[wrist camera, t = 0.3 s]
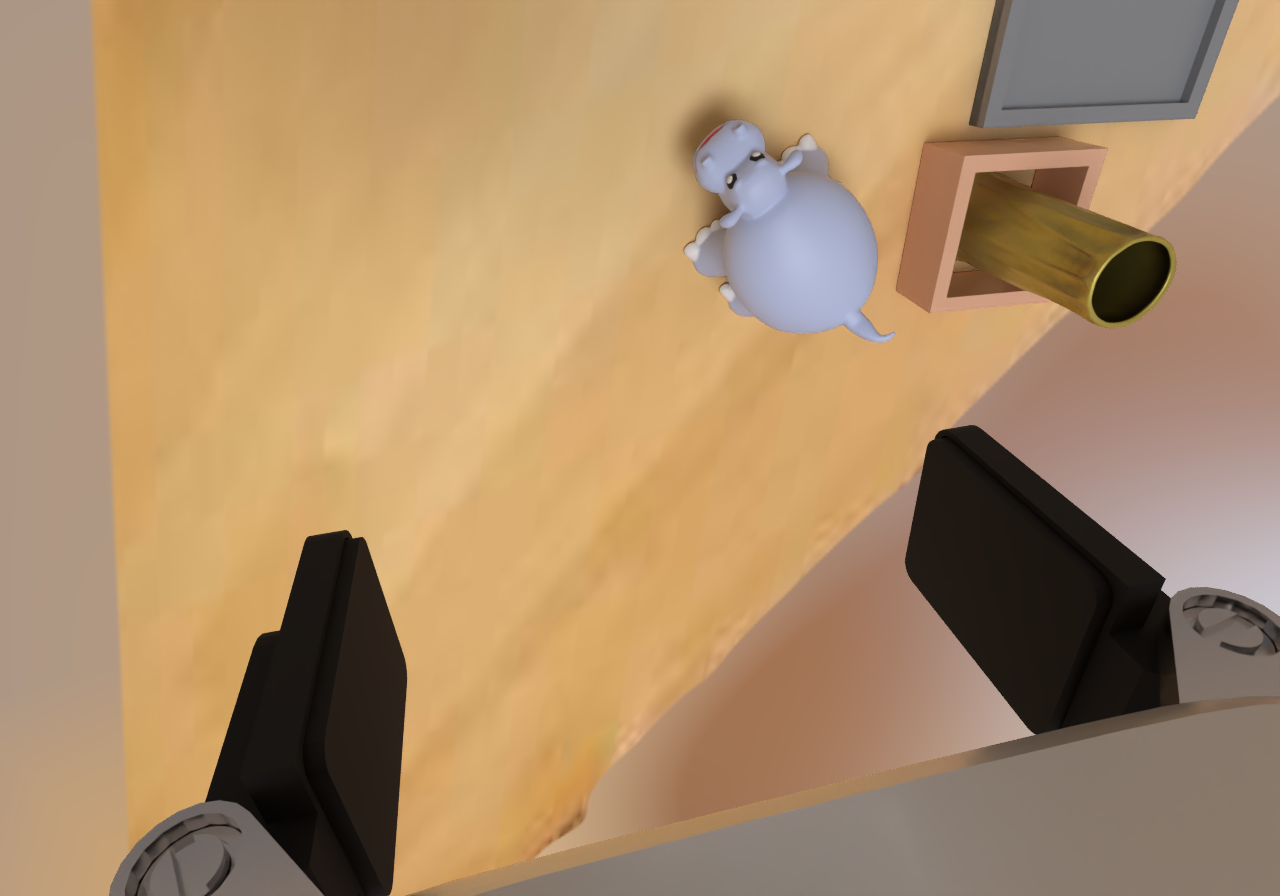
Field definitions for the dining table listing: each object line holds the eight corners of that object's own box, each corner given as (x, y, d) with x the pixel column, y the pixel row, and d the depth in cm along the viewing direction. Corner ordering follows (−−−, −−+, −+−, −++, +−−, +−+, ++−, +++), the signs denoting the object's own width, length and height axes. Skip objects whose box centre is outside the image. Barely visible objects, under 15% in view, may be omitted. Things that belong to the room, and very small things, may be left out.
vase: (941, 175, 48) (1099, 234, 36) (1023, 166, 49) (1202, 220, 37) (926, 264, 52) (1067, 344, 40) (1003, 253, 53) (1162, 328, 41)
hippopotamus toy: (759, 55, 42) (830, 69, 34) (879, 238, 50) (959, 284, 42) (625, 188, 44) (662, 230, 36) (760, 343, 52) (814, 404, 44)
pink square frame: (924, 143, 47) (964, 156, 43) (1058, 136, 49) (1108, 148, 45) (895, 290, 52) (929, 313, 48) (1017, 279, 54) (1059, 301, 50)
